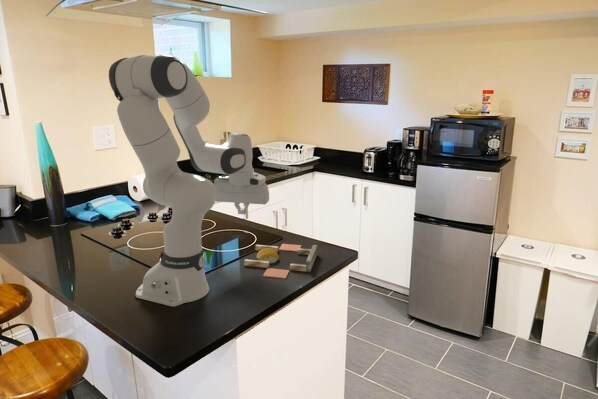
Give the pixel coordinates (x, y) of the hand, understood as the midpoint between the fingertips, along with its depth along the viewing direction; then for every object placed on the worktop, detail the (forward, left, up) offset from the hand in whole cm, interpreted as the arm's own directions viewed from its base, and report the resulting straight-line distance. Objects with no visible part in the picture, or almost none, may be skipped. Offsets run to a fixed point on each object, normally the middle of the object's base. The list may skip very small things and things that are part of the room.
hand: (242, 213), depth 155 cm
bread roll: (+10, 0, -18) cm, 20 cm away
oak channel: (+15, 0, -17) cm, 23 cm away
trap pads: (+15, 0, -17) cm, 23 cm away
